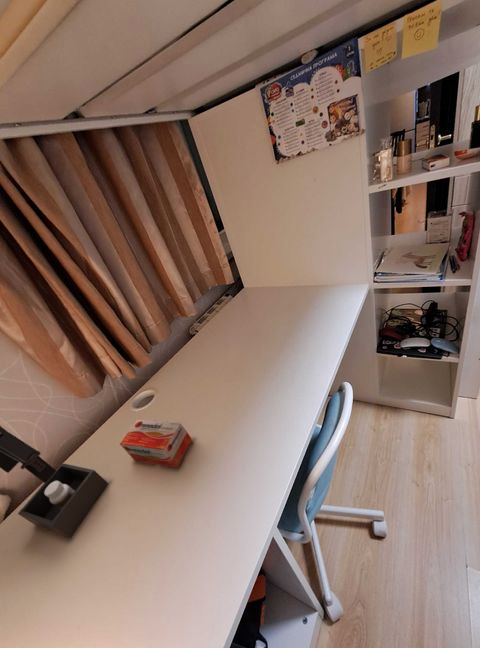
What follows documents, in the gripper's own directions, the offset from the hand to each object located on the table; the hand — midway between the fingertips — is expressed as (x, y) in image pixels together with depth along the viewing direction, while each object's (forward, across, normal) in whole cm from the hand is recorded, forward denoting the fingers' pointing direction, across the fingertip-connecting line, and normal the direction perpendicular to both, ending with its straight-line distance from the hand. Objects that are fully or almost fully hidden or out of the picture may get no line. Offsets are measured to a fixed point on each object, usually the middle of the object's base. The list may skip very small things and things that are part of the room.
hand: (30, 471), depth 64 cm
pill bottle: (+15, 0, 0) cm, 15 cm away
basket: (+15, 0, 0) cm, 15 cm away
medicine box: (+15, -18, -17) cm, 29 cm away
